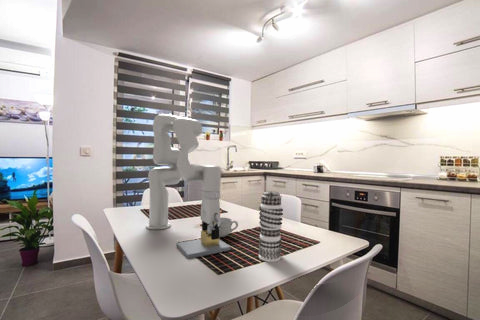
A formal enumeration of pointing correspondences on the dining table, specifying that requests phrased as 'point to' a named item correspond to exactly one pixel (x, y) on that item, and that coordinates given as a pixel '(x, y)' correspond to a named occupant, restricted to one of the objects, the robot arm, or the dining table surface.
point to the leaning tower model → (270, 226)
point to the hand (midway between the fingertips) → (210, 235)
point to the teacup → (226, 226)
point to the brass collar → (208, 239)
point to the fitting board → (201, 247)
